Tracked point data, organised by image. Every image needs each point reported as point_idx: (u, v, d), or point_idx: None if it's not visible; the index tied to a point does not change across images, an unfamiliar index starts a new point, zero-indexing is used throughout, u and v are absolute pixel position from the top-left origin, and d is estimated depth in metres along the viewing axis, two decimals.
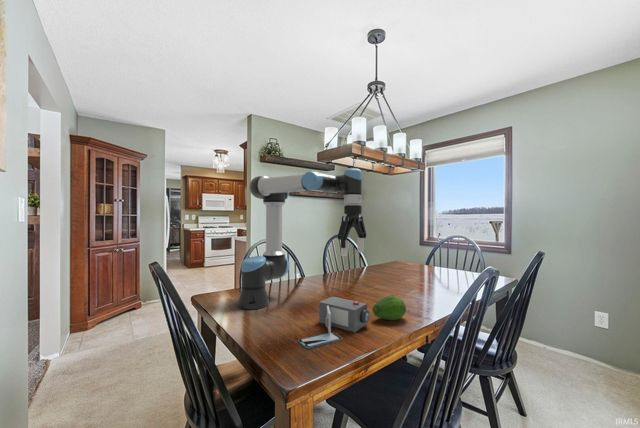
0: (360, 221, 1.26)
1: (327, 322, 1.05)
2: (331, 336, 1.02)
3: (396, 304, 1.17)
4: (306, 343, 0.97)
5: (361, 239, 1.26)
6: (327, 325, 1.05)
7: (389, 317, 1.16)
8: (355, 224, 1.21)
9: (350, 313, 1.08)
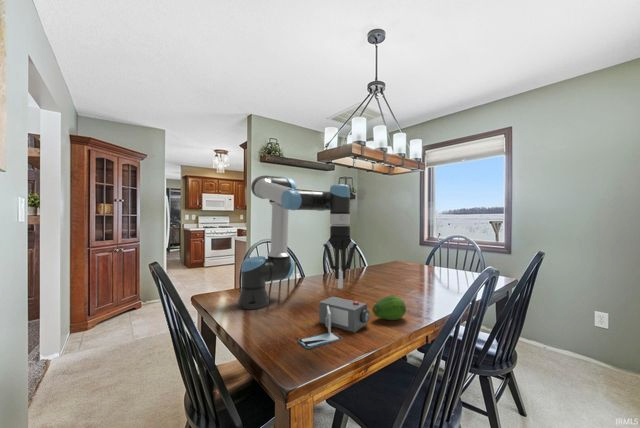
0: (351, 248, 1.07)
1: (327, 322, 1.05)
2: (331, 336, 1.02)
3: (396, 304, 1.17)
4: (306, 343, 0.97)
5: None
6: (327, 325, 1.05)
7: (389, 317, 1.16)
8: (341, 247, 1.06)
9: (350, 313, 1.08)
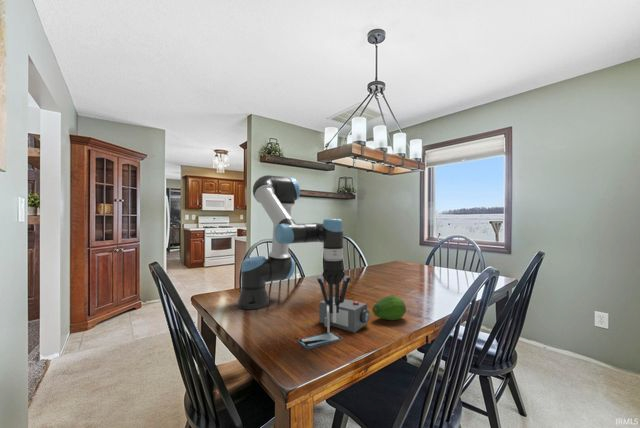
0: (344, 281, 1.07)
1: (326, 322, 1.05)
2: (331, 336, 1.02)
3: (396, 304, 1.17)
4: (306, 343, 0.97)
5: None
6: (326, 325, 1.05)
7: (389, 317, 1.16)
8: (335, 282, 1.06)
9: (350, 313, 1.08)
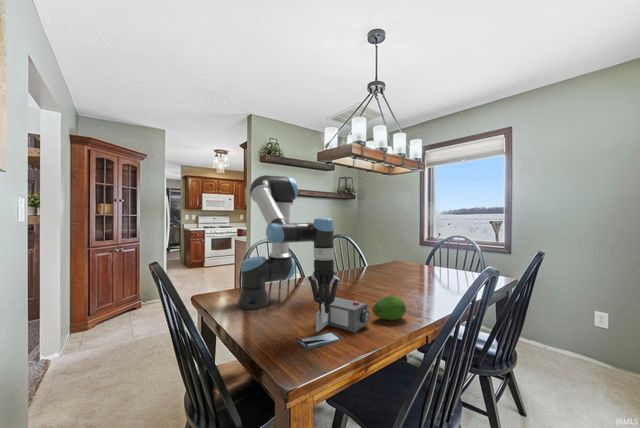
0: None
1: (316, 321, 1.06)
2: (331, 336, 1.02)
3: (396, 304, 1.17)
4: (306, 343, 0.97)
5: None
6: (316, 324, 1.06)
7: (389, 317, 1.16)
8: (323, 281, 1.05)
9: (350, 313, 1.08)
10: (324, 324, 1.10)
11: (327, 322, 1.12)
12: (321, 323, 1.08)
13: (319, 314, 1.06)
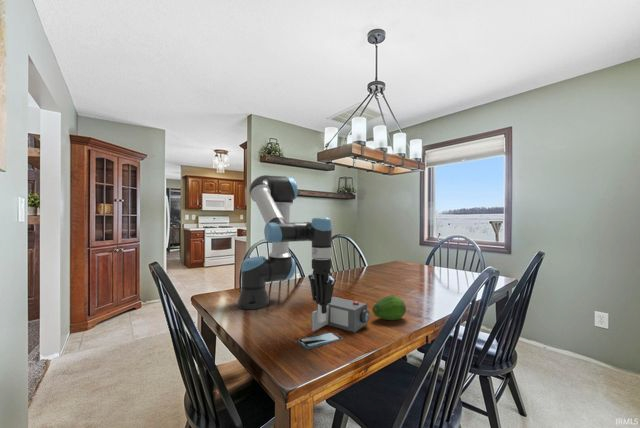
0: None
1: None
2: (331, 336, 1.02)
3: (396, 304, 1.17)
4: (306, 343, 0.97)
5: None
6: None
7: (389, 317, 1.16)
8: None
9: (350, 313, 1.08)
10: (322, 324, 1.10)
11: (326, 322, 1.12)
12: (318, 322, 1.08)
13: (315, 313, 1.07)
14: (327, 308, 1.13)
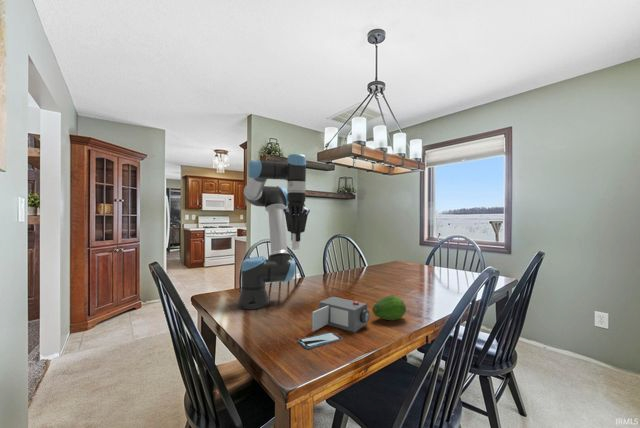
0: None
1: None
2: (331, 336, 1.02)
3: (396, 304, 1.17)
4: (306, 343, 0.97)
5: None
6: None
7: (389, 317, 1.16)
8: (295, 212, 1.15)
9: (350, 313, 1.08)
10: (322, 324, 1.10)
11: (326, 322, 1.12)
12: (318, 322, 1.08)
13: (315, 313, 1.07)
14: (327, 308, 1.13)
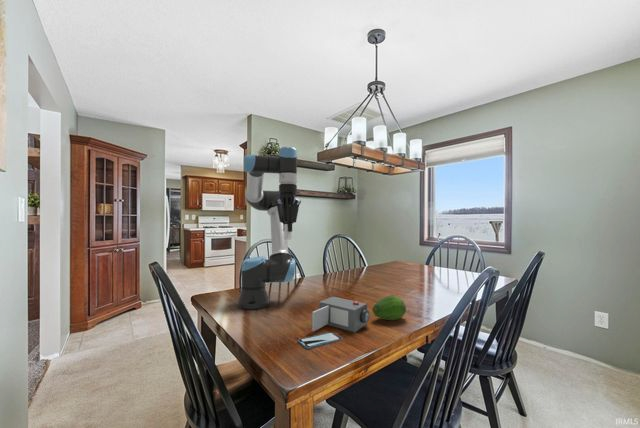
0: None
1: None
2: (331, 336, 1.02)
3: (396, 304, 1.17)
4: (306, 343, 0.97)
5: None
6: None
7: (389, 317, 1.16)
8: None
9: (350, 313, 1.08)
10: (322, 324, 1.10)
11: (326, 322, 1.12)
12: (318, 322, 1.08)
13: (315, 313, 1.07)
14: (327, 308, 1.13)
